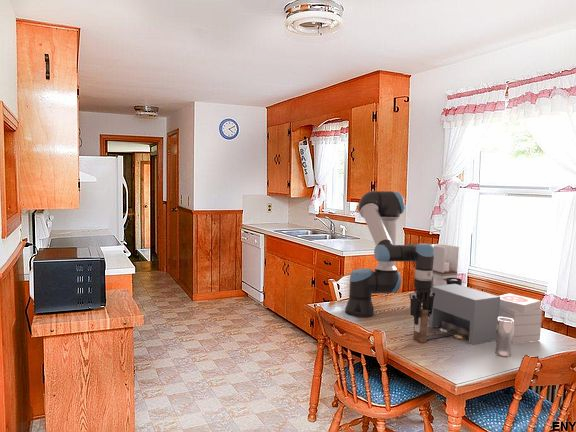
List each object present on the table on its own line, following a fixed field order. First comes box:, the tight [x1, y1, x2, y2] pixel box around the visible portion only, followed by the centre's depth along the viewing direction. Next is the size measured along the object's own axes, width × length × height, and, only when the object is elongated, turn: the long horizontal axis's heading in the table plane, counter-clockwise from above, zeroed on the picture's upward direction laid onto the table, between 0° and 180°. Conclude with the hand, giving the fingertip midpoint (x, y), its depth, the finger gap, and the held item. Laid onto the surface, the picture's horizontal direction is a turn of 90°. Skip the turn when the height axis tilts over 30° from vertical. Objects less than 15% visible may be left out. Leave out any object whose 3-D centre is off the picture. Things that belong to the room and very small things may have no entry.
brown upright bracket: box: [412, 307, 470, 343], centre depth 208 cm, size 18×25×14 cm
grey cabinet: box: [428, 284, 500, 346], centre depth 215 cm, size 26×16×20 cm, turn 27°
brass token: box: [453, 333, 467, 341], centre depth 209 cm, size 5×5×2 cm
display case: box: [430, 243, 460, 290], centre depth 258 cm, size 11×11×35 cm
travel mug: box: [446, 277, 463, 286], centre depth 241 cm, size 8×8×20 cm
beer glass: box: [494, 317, 514, 358], centre depth 190 cm, size 7×7×15 cm
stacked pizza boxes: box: [498, 293, 543, 345], centre depth 217 cm, size 19×30×18 cm, turn 15°
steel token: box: [438, 326, 451, 333], centre depth 217 cm, size 5×5×2 cm
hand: (420, 330), depth 204 cm, fingers closed on brown upright bracket, 3 cm apart
